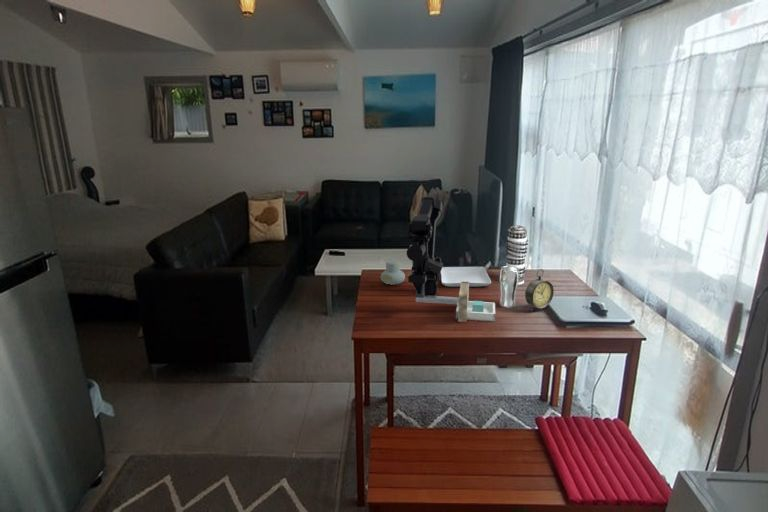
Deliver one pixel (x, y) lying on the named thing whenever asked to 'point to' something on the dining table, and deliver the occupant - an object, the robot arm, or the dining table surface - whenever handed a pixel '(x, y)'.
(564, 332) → the dining table surface
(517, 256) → the decorative candle
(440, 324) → the dining table surface
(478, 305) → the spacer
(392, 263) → the air freshener
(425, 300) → the grey l-shaped block
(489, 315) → the tray
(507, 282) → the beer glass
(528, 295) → the alarm clock
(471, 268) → the salad plate
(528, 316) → the dining table surface
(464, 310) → the guide frame
